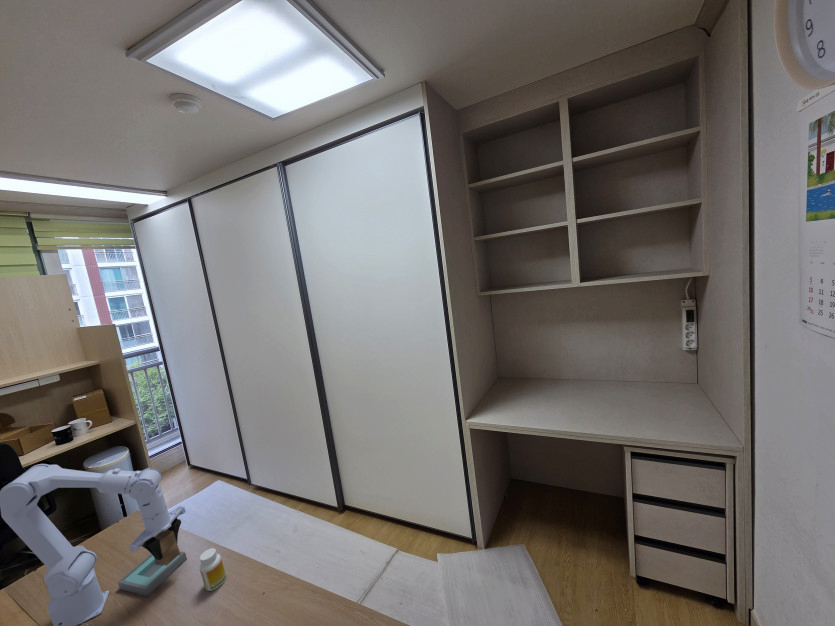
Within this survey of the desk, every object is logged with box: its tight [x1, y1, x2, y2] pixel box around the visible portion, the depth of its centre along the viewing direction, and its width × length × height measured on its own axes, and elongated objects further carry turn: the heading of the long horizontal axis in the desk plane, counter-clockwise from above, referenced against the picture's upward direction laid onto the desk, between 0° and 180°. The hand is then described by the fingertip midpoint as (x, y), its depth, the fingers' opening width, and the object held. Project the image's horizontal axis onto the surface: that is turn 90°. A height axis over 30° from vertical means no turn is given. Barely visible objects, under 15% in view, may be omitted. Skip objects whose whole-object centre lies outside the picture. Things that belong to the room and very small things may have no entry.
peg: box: [154, 530, 181, 566], centre depth 98 cm, size 4×4×8 cm
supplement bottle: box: [199, 547, 227, 592], centre depth 96 cm, size 5×5×10 cm
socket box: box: [117, 550, 188, 597], centre depth 103 cm, size 12×12×2 cm
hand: (166, 551), depth 99 cm, fingers closed on peg, 4 cm apart
